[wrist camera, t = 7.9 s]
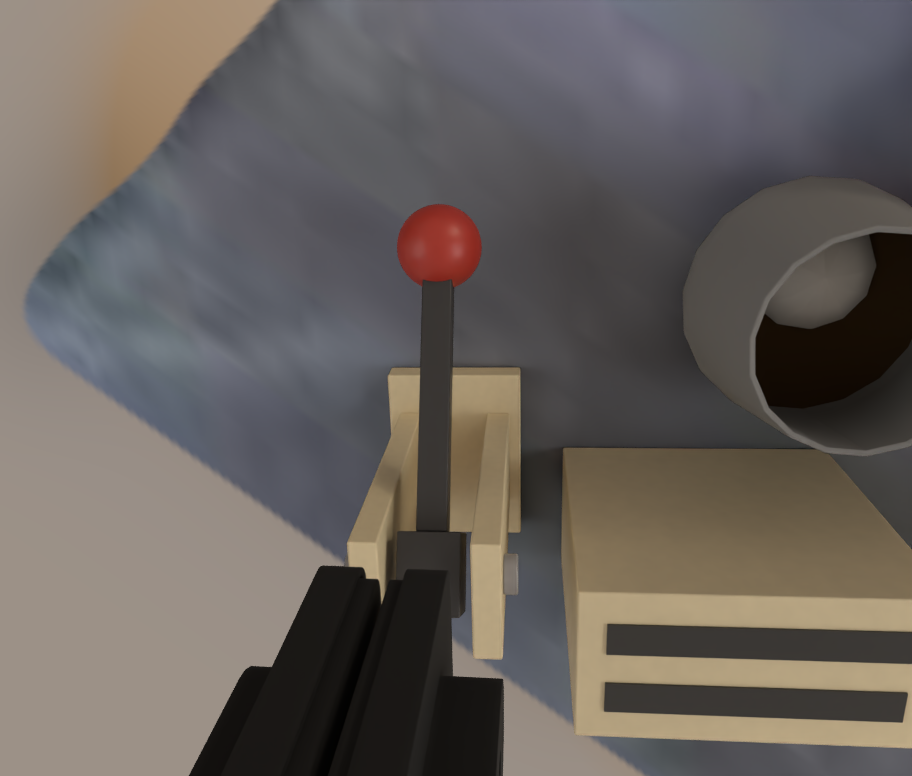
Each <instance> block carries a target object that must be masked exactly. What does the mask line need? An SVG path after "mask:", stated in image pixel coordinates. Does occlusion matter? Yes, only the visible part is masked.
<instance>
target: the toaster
mask: <svg viewBox="0 0 912 776" xmlns="http://www.w3.org/2000/svg"><path fill="white" fill-rule="evenodd" d="M561 560H562V573H563V587H564V600H565V614H566V627H567V641H568V654H569V667H570V681H571V694H572V708H573V721H574V733H575V735H584V736H610V737H635V738H661V739H686V740H712V741H737V742H763V743H788V744H814V745H839V746H865V747H890V748H912V549H911V548H910V547H909V546H908V545H907V544H906V542H905V541H904V540H903V539H902V538H901V537H900V535H899V534H898V533H897V532H896V531H895V530H894V529H893V527H892V526H891V525H890V524H889V523H888V522H887V520H886V519H885V518H884V517H883V516H882V515H881V514H880V512H879V511H878V510H877V509H876V508H875V507H874V505H873V504H872V503H871V502H870V501H869V500H868V499H867V497H866V496H865V495H864V494H863V493H862V492H861V490H860V489H859V488H858V487H857V486H856V485H855V484H854V482H853V481H852V480H851V479H850V478H849V477H848V475H847V474H846V473H845V472H844V471H843V470H842V469H841V467H840V466H839V465H838V464H837V463H836V462H835V461H834V459H833V458H832V457H831V456H830V455H829V454H828V453H824V452H822V451H819V450H817V449H689V448H563V480H562V541H561Z"/></svg>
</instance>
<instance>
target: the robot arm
mask: <svg viewBox="0 0 912 776" xmlns="http://www.w3.org/2000/svg"><path fill="white" fill-rule="evenodd" d="M503 689H504V686H503V679H496V678H494V679H493V678H476V677H456V676H453V665H452V627H451V590H450V574H449V571H448V570H426V569H407V570H406V571H405V574H404V577H403V580H389V583H388V585H387V589H386V592H385V595H384V598H383V601H382V605H381V589H380V583H379V580H378V579H366V573H365V570H364V568H363V567H345V566H321V567H320V568H319V569H318V571H317V573H316V575H315V577H314V579H313V581H312V583H311V585H310V587H309V589H308V592H307V594H306V596H305V598H304V600H303V602H302V604H301V606H300V609H299V611H298V613H297V615H296V617H295V619H294V621H293V623H292V626H291V628H290V630H289V632H288V634H287V636H286V638H285V640H284V642H283V645H282V647H281V649H280V651H279V653H278V655H277V657H276V659H275V661H274V664H273V666H272V667H259V666H257V667H256V666H251V667H249V668H247V669H246V670H245V671H244V672H243V674H242V675H241V677H240V678H239V680H238V682H237V684H236V686H235V688H234V690H233V692H232V694H231V696H230V698H229V700H228V701H227V703H226V705H225V707H224V709H223V711H222V713H221V715H220V717H219V719H218V721H217V723H216V725H215V727H214V728H213V730H212V732H211V734H210V736H209V738H208V740H207V742H206V744H205V746H204V748H203V750H202V752H201V754H200V755H199V757H198V759H197V761H196V763H195V765H194V767H193V769H192V771H191V773H190V775H189V776H503V742H504V737H503V736H504V690H503Z"/></svg>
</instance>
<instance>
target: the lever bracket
mask: <svg viewBox="0 0 912 776" xmlns="http://www.w3.org/2000/svg"><path fill="white" fill-rule="evenodd" d="M388 389H389V405H390V421H391V438H390V440H389V443H388V445H387V448H386V450H385V453H384V455H383V457H382V460H381V462H380V465H379V467H378V469H377V472H376V474H375V477H374V479H373V482H372V484H371V486H370V489H369V491H368V494H367V496H366V498H365V501H364V503H363V506H362V508H361V510H360V513H359V515H358V518H357V520H356V523H355V525H354V527H353V530H352V532H351V535H350V537H349V539H348V542H347V551H348V553H347V555H346V558H345V563H344V566H345V567H363V568H364V570H365V573H366V579H378V580H379V583H380V589H381V605H382V601H383V598H384V595H385V592H386V589H387V585H388V583H389V580H396V548H397V531H416V508H417V470H418V433H419V395H420V368H392V369H391V371H390V373H389V375H388ZM450 531H454V532H472V534H471V542H470V563H471V600H472V637H473V657H474V658H475V659H502V658H503V641H504V619H505V597H506V595H517V594H518V554H507V552H508V532H514V533H519V532H520V531H521V393H520V368H518V367H515V368H453V379H452V433H451V487H450Z"/></svg>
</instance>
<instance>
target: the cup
mask: <svg viewBox="0 0 912 776" xmlns="http://www.w3.org/2000/svg"><path fill="white" fill-rule="evenodd" d="M683 325H684V334H685V336H686V339H687V341H688V343H689V346H690V348H691V350H692V353H693V355H694V357H695V360H696V362H697V364H698V367H699V369H700V371H701V372H702V373H703V374H704V375H705V376H706V377H707V378H708V379H709V380H710V381H711V382H712V383H713V384H714V385H715V386H716V387H717V388H718V389H719V390H720V391H721V392H722V393H724V394H725V395H726V396H727V397H728V398H729V399H730V400H731V401H732V402H734V403H736V404H737V405H739V406H740V407H742V408H744V409H745V410H747V411H748V412H750V413H752V414H753V415H755V416H756V417H758V418H760V419H761V420H763V421H764V422H766V423H768V424H769V425H771V426H772V427H774V428H776V429H777V430H779V431H780V432H782V433H783V434H785V435H787V436H788V437H790V438H792V439H794V440H797V441H799V442H801V443H804V444H806V445H808V446H810V447H813V448H815V449H817V450H819V451H822V452H824V453H831V454H843V455H855V456H870V455H875V454H879V453H884V452H888V451H893V450H898V449H902V448H907V447H909V446H911V445H912V207H911V206H910V205H909V204H907V203H906V202H905V201H903V200H902V199H900V198H898V197H896V196H894V195H892V194H890V193H888V192H885V191H883V190H881V189H879V188H877V187H875V186H872V185H870V184H868V183H866V182H864V181H862V180H859V179H852V178H836V177H820V176H807V177H803V178H800V179H796V180H792V181H789V182H785V183H782V184H778V185H775V186H771V187H768V188H764V189H762V190H761V191H759V192H758V193H756V194H755V195H753V196H752V197H750V198H749V199H747V200H746V201H744V202H743V203H741V204H740V205H738V206H737V207H735V208H734V209H732V210H731V211H729V212H728V213H727V214H725V215H724V216H723V217H722V218H721V219H720V221H719V222H718V223H717V225H716V226H715V227H714V228H713V230H712V231H711V232H710V234H709V235H708V236H707V238H706V239H705V240H704V241H703V243H702V244H701V245H700V247H699V248H698V249H697V250H696V253H695V256H694V259H693V262H692V265H691V268H690V271H689V274H688V277H687V280H686V283H685V286H684V289H683Z"/></svg>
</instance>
